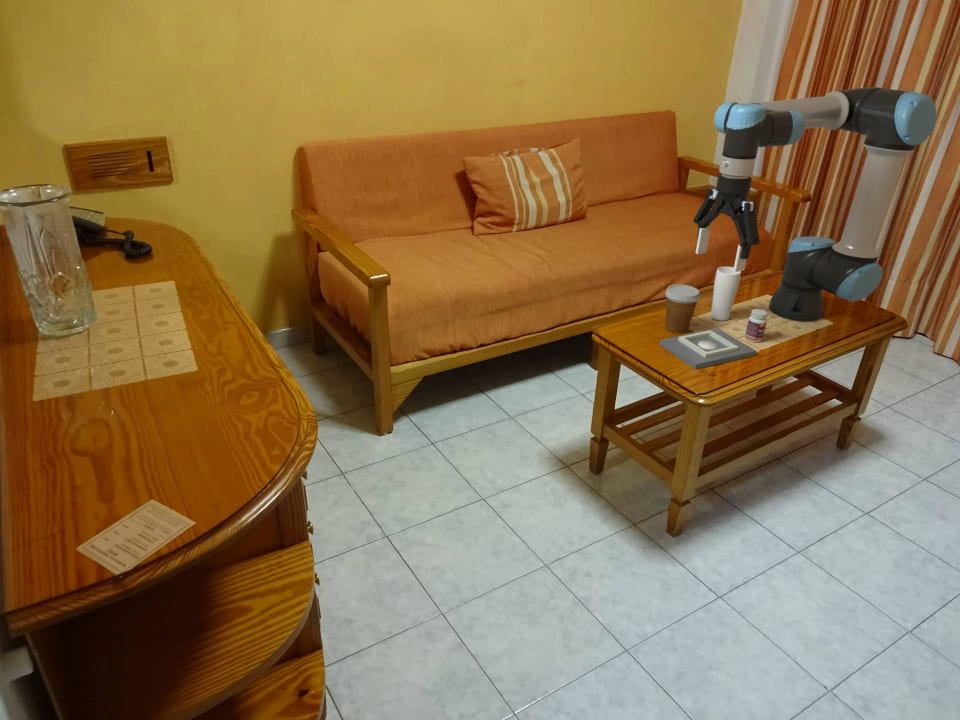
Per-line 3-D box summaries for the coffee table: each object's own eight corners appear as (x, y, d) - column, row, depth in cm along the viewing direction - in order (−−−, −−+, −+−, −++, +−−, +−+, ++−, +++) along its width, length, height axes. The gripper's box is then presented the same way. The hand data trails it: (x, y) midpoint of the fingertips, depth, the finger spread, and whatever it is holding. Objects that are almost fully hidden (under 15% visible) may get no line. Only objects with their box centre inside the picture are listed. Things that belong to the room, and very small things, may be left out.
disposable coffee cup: (669, 319, 202) (675, 281, 196) (699, 328, 196) (706, 289, 191) (653, 329, 195) (659, 290, 189) (684, 339, 190) (692, 299, 184)
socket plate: (716, 332, 194) (718, 325, 193) (755, 355, 182) (757, 347, 180) (659, 344, 186) (660, 336, 185) (695, 369, 174) (697, 360, 173)
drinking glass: (734, 322, 200) (744, 274, 193) (711, 322, 200) (720, 274, 193) (727, 313, 206) (737, 266, 199) (705, 312, 206) (714, 266, 199)
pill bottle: (758, 344, 188) (765, 316, 184) (741, 339, 190) (747, 311, 186) (765, 338, 191) (771, 311, 187) (748, 333, 194) (754, 306, 190)
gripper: (687, 165, 166) (674, 248, 177) (762, 189, 146) (743, 281, 156) (711, 162, 169) (697, 244, 179) (788, 186, 149) (768, 276, 159)
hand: (719, 261), depth 168 cm, fingers open, 13 cm apart
